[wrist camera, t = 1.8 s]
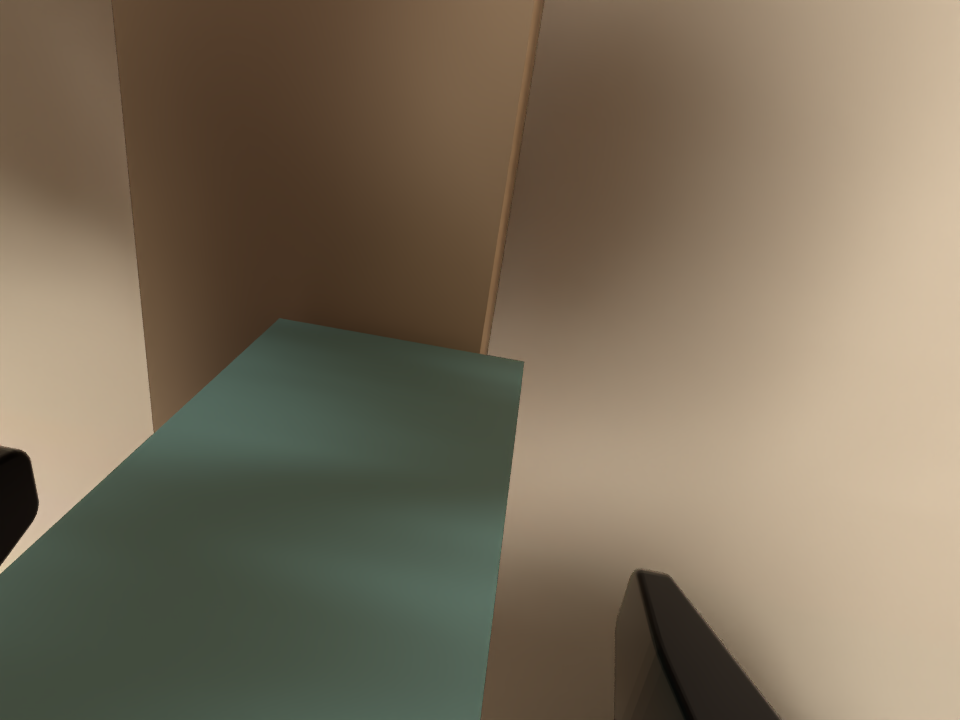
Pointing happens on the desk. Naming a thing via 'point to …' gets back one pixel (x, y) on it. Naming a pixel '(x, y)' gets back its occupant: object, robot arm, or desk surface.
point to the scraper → (298, 374)
